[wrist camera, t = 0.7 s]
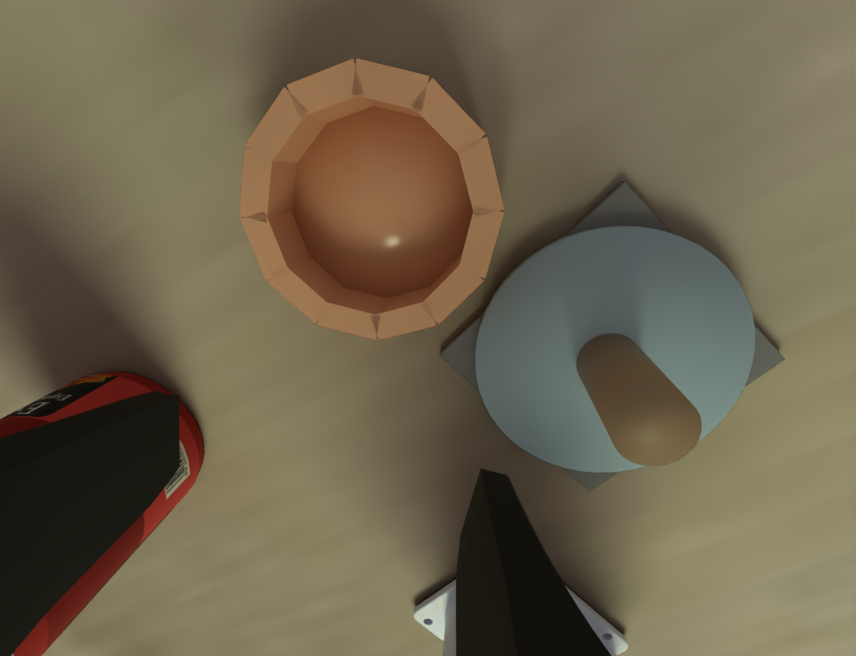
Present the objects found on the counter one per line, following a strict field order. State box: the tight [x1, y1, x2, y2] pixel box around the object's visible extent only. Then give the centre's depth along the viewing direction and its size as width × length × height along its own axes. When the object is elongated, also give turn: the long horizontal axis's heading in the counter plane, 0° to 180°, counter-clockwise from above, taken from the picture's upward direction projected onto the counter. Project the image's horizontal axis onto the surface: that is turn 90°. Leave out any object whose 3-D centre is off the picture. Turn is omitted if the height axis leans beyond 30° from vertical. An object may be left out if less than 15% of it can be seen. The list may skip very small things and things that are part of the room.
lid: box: [475, 225, 755, 473], centre depth 16 cm, size 11×11×6 cm
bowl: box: [239, 58, 504, 340], centre depth 16 cm, size 9×9×3 cm
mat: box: [440, 182, 785, 491], centre depth 18 cm, size 10×10×1 cm
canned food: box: [0, 372, 204, 656], centre depth 18 cm, size 8×8×11 cm
